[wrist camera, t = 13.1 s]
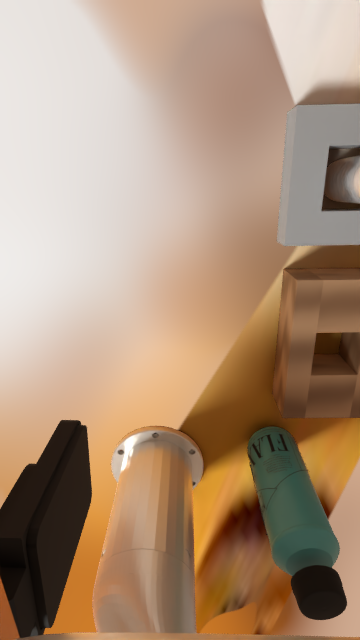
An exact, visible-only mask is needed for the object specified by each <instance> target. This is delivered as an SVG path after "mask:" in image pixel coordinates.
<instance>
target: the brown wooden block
mask: <svg viewBox="0 0 360 640" xmlns="http://www.w3.org/2000/svg"><path fill="white" fill-rule="evenodd" d="M336 332H342V335H341V341H340V347H339V353H338V354H314V347H315V340H316V333H336ZM272 394H273V396H274V399H275V401H276V403H277V406H278V408H279V411H280V413H281V415H282V418H360V268H318V269H284V271H283V282H282V293H281V304H280V314H279V325H278V336H277V347H276V358H275V369H274V380H273V391H272Z"/></svg>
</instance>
